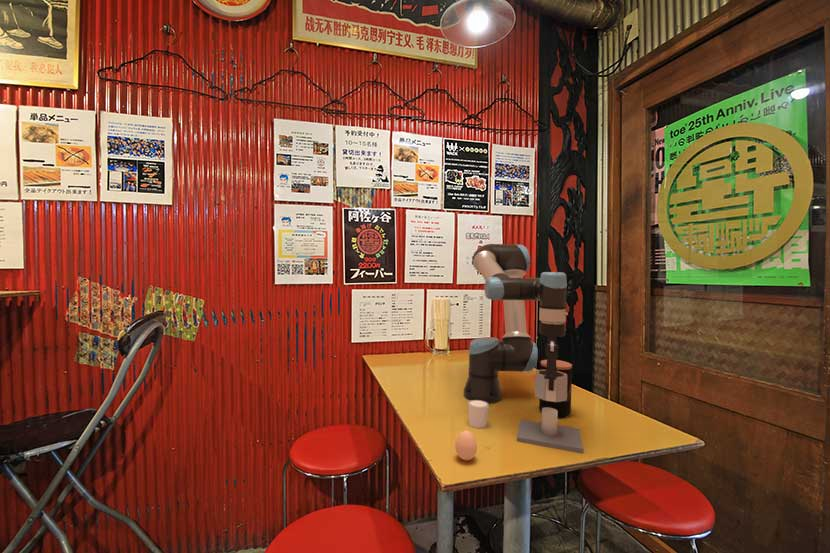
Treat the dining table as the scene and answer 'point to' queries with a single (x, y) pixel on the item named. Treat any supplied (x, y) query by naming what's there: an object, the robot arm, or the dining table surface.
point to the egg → (466, 445)
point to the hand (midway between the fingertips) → (550, 395)
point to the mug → (541, 385)
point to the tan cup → (478, 413)
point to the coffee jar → (565, 406)
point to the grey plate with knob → (550, 433)
